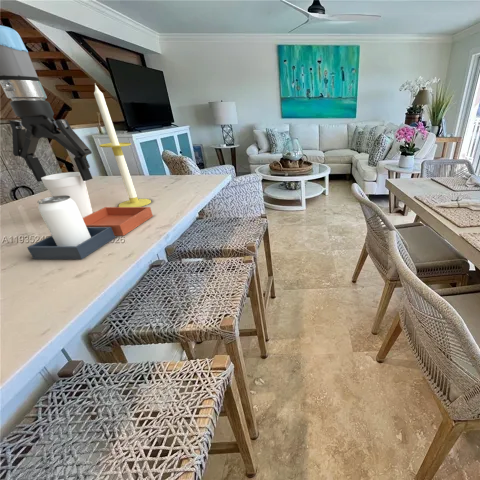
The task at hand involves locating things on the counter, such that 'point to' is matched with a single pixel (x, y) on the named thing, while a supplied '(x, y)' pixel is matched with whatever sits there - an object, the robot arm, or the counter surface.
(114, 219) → the bin
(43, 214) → the can
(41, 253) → the can bin
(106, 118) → the candle
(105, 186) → the counter surface
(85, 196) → the foam cup
